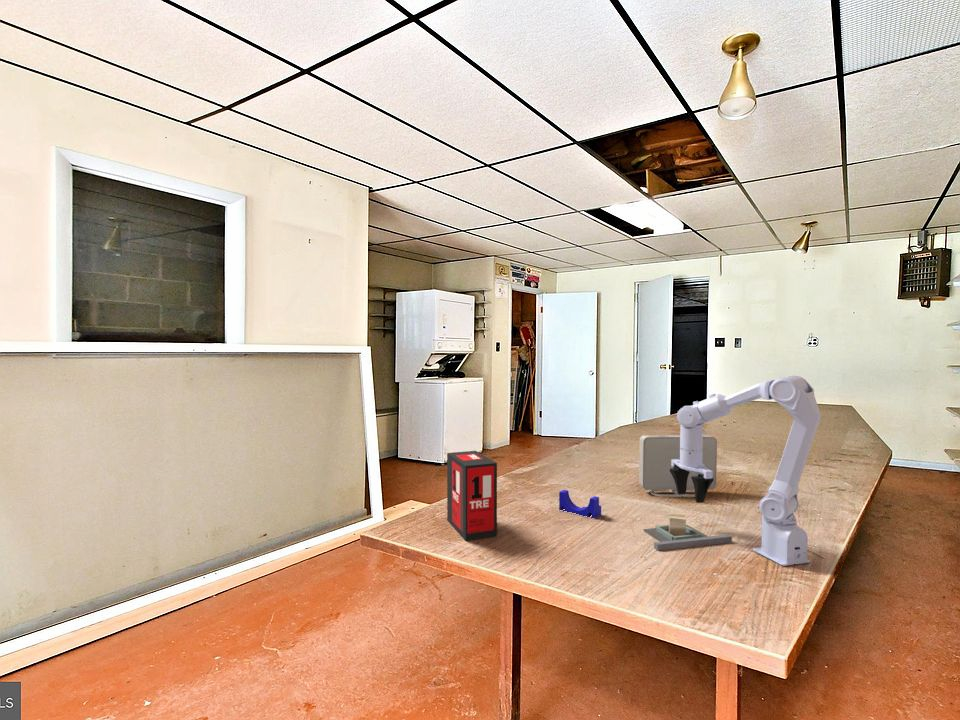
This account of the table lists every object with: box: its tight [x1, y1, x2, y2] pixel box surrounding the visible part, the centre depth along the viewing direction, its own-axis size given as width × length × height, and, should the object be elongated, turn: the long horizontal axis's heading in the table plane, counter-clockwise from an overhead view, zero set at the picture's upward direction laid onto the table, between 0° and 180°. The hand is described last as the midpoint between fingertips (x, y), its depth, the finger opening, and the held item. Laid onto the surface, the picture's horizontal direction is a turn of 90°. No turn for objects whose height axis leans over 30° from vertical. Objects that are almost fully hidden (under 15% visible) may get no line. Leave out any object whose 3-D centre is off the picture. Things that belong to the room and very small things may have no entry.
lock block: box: [668, 512, 687, 536], centre depth 136 cm, size 4×4×5 cm
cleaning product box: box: [446, 450, 498, 542], centre depth 141 cm, size 16×9×20 cm, turn 21°
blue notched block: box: [558, 489, 602, 519], centre depth 154 cm, size 12×4×6 cm, turn 50°
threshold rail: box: [653, 534, 733, 552], centre depth 130 cm, size 2×22×2 cm, turn 104°
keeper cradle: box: [642, 524, 708, 542], centre depth 136 cm, size 11×14×2 cm
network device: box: [638, 434, 718, 498], centre depth 174 cm, size 26×9×20 cm, turn 92°
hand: (690, 498), depth 139 cm, fingers open, 7 cm apart
